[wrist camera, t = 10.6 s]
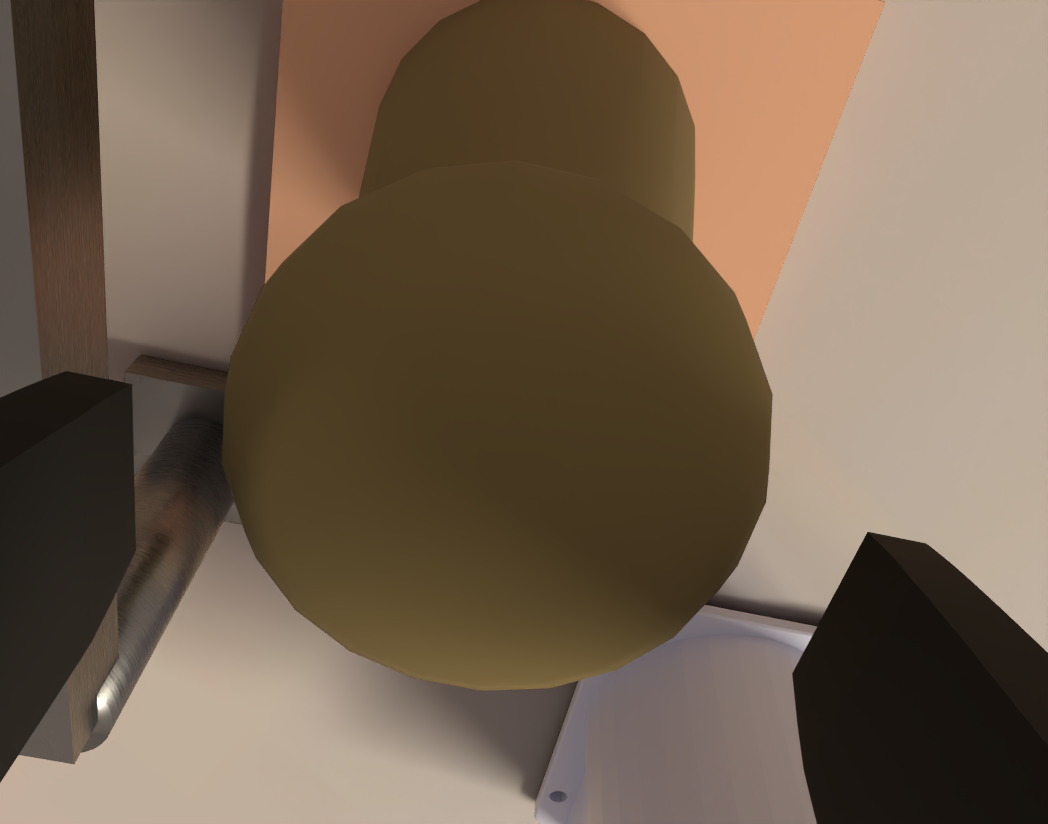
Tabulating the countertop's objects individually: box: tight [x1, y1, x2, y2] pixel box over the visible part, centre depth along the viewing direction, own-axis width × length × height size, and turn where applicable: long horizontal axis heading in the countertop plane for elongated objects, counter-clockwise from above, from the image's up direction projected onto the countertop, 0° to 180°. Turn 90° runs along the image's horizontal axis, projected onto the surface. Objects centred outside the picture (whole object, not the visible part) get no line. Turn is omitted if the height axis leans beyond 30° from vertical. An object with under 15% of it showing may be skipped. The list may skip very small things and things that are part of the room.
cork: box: [222, 0, 772, 691], centre depth 12 cm, size 6×6×11 cm
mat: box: [265, 0, 885, 340], centre depth 17 cm, size 10×10×1 cm
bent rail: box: [0, 0, 242, 764], centre depth 13 cm, size 24×26×9 cm
